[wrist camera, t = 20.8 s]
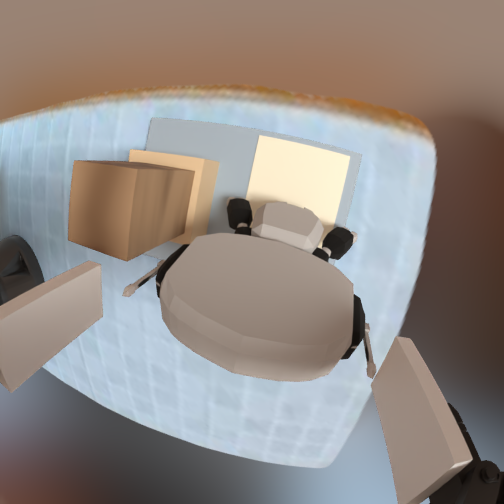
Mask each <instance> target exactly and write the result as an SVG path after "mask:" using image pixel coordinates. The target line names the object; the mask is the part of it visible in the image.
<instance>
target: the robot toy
mask: <svg viewBox="0 0 504 504" xmlns="http://www.w3.org/2000/svg"><path fill="white" fill-rule="evenodd" d="M226 204H227V214H228V221H229V227H230V228H232V229H234V230H236V231H235V233H234V234H231V233H216V234H210V235H204V236H198V237H196V238H195V239H194V241H193V242H192V243H191V244H183V245H182V246H181V247H180V248H179V249H177V250H176V251H175V252H174V253H172V254H171V255H170V256H169V257H168V258H167V259H166V260H161V261H160V262H158V264H157V267H156V268H155V269H153V270H152V271H150V272H149V273H147V274H146V275H145V276H143V277H142V278H140V279H139V280H138V281H136V282H135V283H133V284H130V285H128V286H127V287H126V288H125V289H124V292H123V295H122V296H127V297H130V296H131V295H132V294H133V293H135V290H136V289H138V288H139V287H140V286H142V285H143V284H144V283H146V282H147V281H148V280H150V279H151V278H152V277H154V276H155V275H156V274H157V276H156V287H157V295H158V297H159V298H160V303H161V311H162V319H163V321H164V322H165V324H166V326H167V327H168V329H169V330H170V332H171V334H172V335H173V336H174V337H175V338H177V339H178V340H179V341H180V342H181V343H183V344H184V345H185V346H187V347H188V348H189V349H191V350H192V351H193V352H195V353H196V354H198V355H200V356H202V357H204V358H206V359H207V360H209V361H211V362H213V363H215V364H217V365H219V366H221V367H222V368H224V369H226V370H228V371H230V372H232V373H236V374H241V375H246V376H251V377H257V378H262V379H268V380H275V381H294V382H300V381H310V380H313V379H316V378H319V377H322V376H325V375H328V374H329V373H330V372H331V370H332V369H333V368H334V367H335V365H336V364H337V363H338V362H339V360H340V359H348V358H349V357H350V356H351V354H352V353H353V352H354V350H355V349H356V348H357V346H358V345H359V344H360V342H361V341H362V339H363V340H364V346H365V353H366V359H367V366H368V367H367V376H369V377H370V378H372V379H373V377H374V375H375V373H376V365H375V364H374V362H373V356H372V351H371V345H370V340H369V335H368V333H369V331H370V327H369V324H367V323H365V313H364V311H363V307H362V303H361V300H360V298H359V297H358V296H356V295H355V294H354V292H353V283H352V282H351V281H350V280H349V279H348V278H347V277H346V276H345V275H344V274H343V273H342V272H341V271H340V270H339V269H337V268H336V267H335V266H333V265H331V264H330V263H328V261H329V258H331V259H336V260H339V259H340V258H341V257H342V256H343V255H344V254H345V253H346V252H347V251H348V250H349V249H350V248H351V246H352V245H353V243H355V242H356V240H357V233H355V232H353V231H352V232H350V231H349V229H348V228H346V227H336V228H334V229H333V230H332V231H330V232H329V233H328V234H327V235H326V237H325V238H324V240H323V243H322V249H321V248H318V245H319V242H320V239H321V236H322V233H323V230H324V228H323V226H322V224H321V221H320V219H319V218H318V217H317V216H316V215H314V213H313V211H311V210H309V209H307V208H305V207H304V208H301V207H298V206H295V205H291V204H287V202H279V201H277V202H274V203H266V204H264V205H263V206H261V207H260V208H258V209H257V210H256V213H255V216H254V219H253V217H252V210H251V206H250V203H249V201H248V200H246V199H245V198H241V197H238V198H235V197H229V198H228V200H227V202H226ZM252 221H253V224H252V228H250V225H251V223H252Z"/></svg>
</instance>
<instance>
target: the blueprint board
mask: <svg viewBox="0 0 504 504" xmlns="http://www.w3.org/2000/svg"><path fill="white" fill-rule="evenodd" d="M361 158H362V154H359V153H356V152H353V151H349V150H346V149H342V148H339V147H335V146H331V145H327V144H323V143H319V142H315V141H311V140H307V139H303V138H298V137H294V136H289V135H284V134H280V133H275V132H269V131H264V130H258V129H253V128H246V127H240V126H233V125H226V124H219V123H211V122H202V121H192V120H181V119H168V118H152V120H151V124H150V129H149V134H148V139H147V144H146V149H145V151H142V150H132V149H130V155H129V161H128V162H143V163H150V164H156V165H163V166H169V167H175V168H181V169H186V170H192V171H195V175H194V180H193V186H192V191H191V196H190V202H189V208H188V213H187V219H186V226H185V232H184V234H182V235H180V236H178V237H176V238H174V239H171V240H169V241H167V242H165V243H163V244H161V245H159V246H157V247H155V248H153V249H151V250H149V251H147V252H145V253H143V254H144V255H147V256H151V257H154V258H157V259H161V260H166V259H167V258H168V257H169V256H170V255H171V254H172V253H174V252H175V251H176V250H177V249H179V248H180V247H181V246H182V245H183V244H191V243H192V242H193V241H194V239H195V238H196V237H198V236H204V235H210V234H216V233H231V234H234V233H235V231H236V230H234V229H232V228H230V227H229V221H228V214H227V204H226V202H227V200H228V198H229V197H235V198H238V197H241V198H245V199H246V200H248V201H249V203H250V206H251V210H252V217H253V219H254V216H255V213H256V210H257V209H258V208H260V207H261V206H263V205H264V204H266V203H274V202H277V201H279V202H287V204H291V205H295V206H298V207H301V208H304V207H305V208H307V209H309V210H311V211H313V213H314V215H316V216H317V217H318V218H319V219H320V221H321V224H322V226H323V228H324V230H323V233H322V236H321V239H320V242H319V245H318V248H321V249H322V243H323V240H324V238H325V237H326V235H327V234H328V233H329V232H330V231H332V230H333V229H334V228H336V227H345V225H346V221H347V217H348V213H349V209H350V206H351V202H352V197H353V193H354V189H355V185H356V180H357V176H358V172H359V167H360V162H361ZM252 224H253V221H252V223H251V225H250V228H252ZM335 260H336V259H331V258H329V261H328V263H330V264H331V265H333V266H334V263H335Z"/></svg>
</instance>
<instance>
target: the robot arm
mask: <svg viewBox="0 0 504 504" xmlns="http://www.w3.org/2000/svg"><path fill="white" fill-rule="evenodd" d="M102 317H103V308H102V287H101V264H98V263H95V262H92V261H87V262H85V263H83V264H81V265H79V266H77V267H74V268H72V269H70V270H68V271H66V272H64V273H62V274H60V275H58V276H56V277H54V278H52V279H50V280H48V281H46V282H44V278H43V274H42V271H41V268H40V265H39V263H38V260H37V258H36V256H35V254H34V252H33V250H32V249H31V247H30V246H29V244H28V243H27V242H26V241H25V240H24V239H23V238H22V237H20V236H17V235H14V236H11V237H7V238H5V239H3V240H2V241H1V242H0V383H1V384H2V385H3V386H5V387H6V388H7V389H8V390H9V391H10V392H11V393H12V392H13V391H14V390H15V389H16V388H18V387H19V386H20V385H21V384H22V383H23V382H24V381H25V380H27V379H28V378H29V377H30V376H31V375H32V374H34V373H35V372H36V371H37V370H38V369H39V368H41V367H42V366H43V365H44V364H45V363H46V362H48V361H49V360H50V359H51V358H52V357H54V356H55V355H56V354H57V353H58V352H60V351H61V350H62V349H63V348H64V347H66V346H67V345H68V344H69V343H70V342H72V341H73V340H74V339H75V338H77V337H78V336H79V335H80V334H82V333H83V332H84V331H85V330H86V329H88V328H89V327H90V326H91V325H93V324H94V323H95V322H97V321H98V320H99V319H100V318H102ZM371 388H372V391H373V395H374V398H375V402H376V405H377V409H378V413H379V417H380V421H381V425H382V429H383V433H384V437H385V441H386V445H387V450H388V454H389V459H390V463H391V468H392V473H393V478H394V484H395V489H396V495H397V501H398V504H420V503H421V502H423V501H424V500H425V499H427V498H428V497H429V499H430V503H429V504H504V472H500V470H499V468H498V467H497V465H496V464H494V463H493V462H491V461H487V460H485V461H481V459H480V457H479V455H478V453H477V451H476V448H475V446H474V444H473V442H472V440H471V437H470V435H469V433H468V432H466V430H467V429H466V427H465V425H464V424H463V421H462V419H461V417H460V415H459V413H458V412H457V410H456V409H455V408H454V407H453V406H452V405H451V404H450V403H447V402H446V400H445V398H444V397H443V395H442V393H441V391H440V389H439V387H438V385H437V384H436V382H435V380H434V378H433V376H432V375H431V373H430V371H429V369H428V368H427V366H426V364H425V362H424V361H423V359H422V357H421V355H420V354H419V352H418V350H417V349H416V347H415V345H414V344H413V342H412V341H411V339H409V338H403V337H397V336H396V337H395V339H394V341H393V343H392V346H391V348H390V350H389V352H388V354H387V356H386V358H385V360H384V362H383V363H382V365H381V367H380V369H379V371H378V373H377V375H376V376H375V378H374V380H373V382H372V384H371Z"/></svg>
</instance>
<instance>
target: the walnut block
mask: <svg viewBox="0 0 504 504" xmlns="http://www.w3.org/2000/svg"><path fill="white" fill-rule="evenodd" d="M194 175H195V171H192V170H186V169H181V168H175V167H169V166H163V165H156V164H150V163H143V162H126V161H74V165H73V173H72V182H71V192H70V204H69V223H68V240H69V241H72V242H74V243H77V244H80V245H82V246H85V247H88V248H90V249H93V250H96V251H99V252H101V253H104V254H107V255H110V256H113V257H115V258H118V259H121V260H124V261H129V260H131V259H133V258H135V257H137V256H139V255H141V254H143V253H145V252H147V251H149V250H151V249H153V248H155V247H157V246H159V245H161V244H163V243H165V242H167V241H169V240H171V239H174V238H176V237H178V236H180V235H182V234H184V232H185V226H186V219H187V213H188V208H189V202H190V196H191V191H192V186H193V180H194Z"/></svg>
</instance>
